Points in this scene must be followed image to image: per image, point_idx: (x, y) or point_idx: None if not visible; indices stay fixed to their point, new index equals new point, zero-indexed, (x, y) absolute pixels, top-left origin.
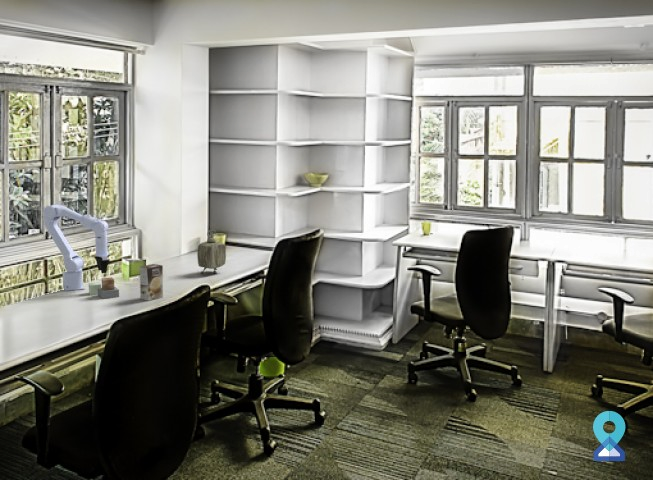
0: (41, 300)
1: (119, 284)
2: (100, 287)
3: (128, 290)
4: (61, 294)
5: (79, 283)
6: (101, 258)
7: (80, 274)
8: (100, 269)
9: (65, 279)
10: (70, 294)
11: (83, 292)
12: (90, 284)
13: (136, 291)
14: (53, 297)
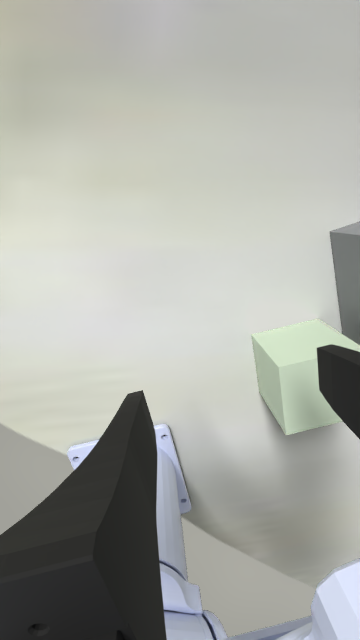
0: (341, 558)
1: (26, 185)
2: (347, 340)
3: (269, 104)
4: (256, 509)
5: (168, 479)
6: (137, 569)
7: (161, 538)
8: (150, 421)
9: (187, 578)
10: (269, 474)
11: (242, 420)
12: (334, 419)
13: (328, 20)
14: (305, 529)
